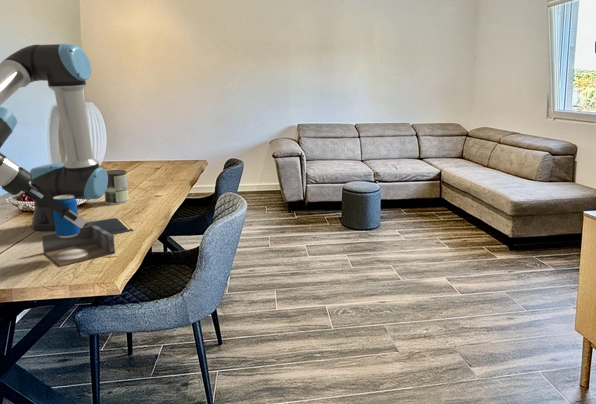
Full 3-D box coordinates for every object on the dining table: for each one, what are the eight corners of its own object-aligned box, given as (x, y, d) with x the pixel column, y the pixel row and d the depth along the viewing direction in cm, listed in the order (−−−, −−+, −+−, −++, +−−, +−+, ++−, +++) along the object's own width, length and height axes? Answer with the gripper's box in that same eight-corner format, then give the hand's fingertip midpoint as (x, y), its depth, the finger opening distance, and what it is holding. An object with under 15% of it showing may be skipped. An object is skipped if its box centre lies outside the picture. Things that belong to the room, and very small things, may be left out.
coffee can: (104, 205, 199) (100, 174, 195) (106, 200, 208) (103, 170, 205) (128, 203, 202) (125, 173, 198) (129, 198, 211) (127, 169, 208)
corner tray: (43, 252, 140) (41, 234, 139) (96, 241, 151) (93, 224, 150) (60, 266, 129) (57, 247, 128) (115, 253, 140) (113, 234, 139)
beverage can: (81, 231, 139) (77, 193, 136) (78, 237, 133) (73, 198, 130) (59, 233, 137) (53, 195, 135) (54, 239, 131) (49, 199, 129)
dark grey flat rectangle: (80, 221, 170) (122, 215, 178) (80, 226, 171) (122, 220, 178) (88, 235, 154) (133, 228, 162) (88, 240, 154) (134, 233, 162)
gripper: (-8, 182, 128) (61, 225, 143) (8, 193, 114) (83, 239, 129) (11, 162, 130) (76, 206, 145) (29, 170, 117) (99, 218, 131)
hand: (79, 222), depth 137 cm, fingers closed on beverage can, 6 cm apart
